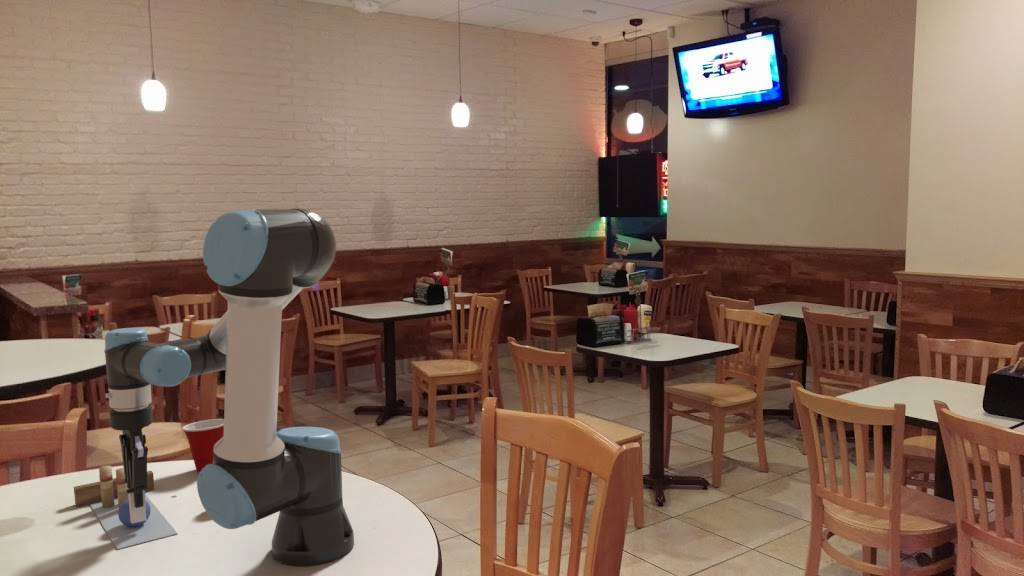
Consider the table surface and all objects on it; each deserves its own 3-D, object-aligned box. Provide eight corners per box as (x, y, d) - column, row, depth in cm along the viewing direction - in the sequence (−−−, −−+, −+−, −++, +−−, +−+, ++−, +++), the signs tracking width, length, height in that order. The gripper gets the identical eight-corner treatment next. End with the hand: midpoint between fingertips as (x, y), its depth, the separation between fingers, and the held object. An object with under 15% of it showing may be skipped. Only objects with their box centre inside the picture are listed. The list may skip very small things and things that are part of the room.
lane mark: (177, 534, 157) (177, 533, 156) (117, 549, 150) (117, 548, 150) (143, 493, 179) (143, 492, 179) (90, 505, 173) (90, 504, 173)
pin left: (115, 507, 172) (112, 467, 171) (103, 510, 170) (99, 470, 169) (113, 503, 173) (110, 464, 172) (101, 506, 172) (97, 467, 171)
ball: (151, 494, 160) (144, 492, 165) (119, 503, 157) (113, 500, 161) (156, 523, 160) (148, 520, 165) (124, 532, 156) (117, 529, 161)
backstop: (154, 489, 182) (153, 472, 181) (76, 506, 172) (75, 489, 172) (152, 487, 183) (151, 470, 183) (75, 504, 174) (73, 486, 173)
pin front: (132, 510, 170) (129, 469, 169) (120, 513, 168) (116, 472, 167) (130, 506, 172) (127, 467, 171) (117, 509, 170) (114, 469, 169)
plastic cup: (215, 459, 202) (212, 414, 201) (240, 467, 196) (237, 420, 195) (176, 471, 194) (172, 424, 192) (201, 480, 187) (198, 431, 186)
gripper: (102, 403, 157) (111, 515, 160) (117, 417, 147) (125, 536, 150) (143, 396, 162) (150, 506, 165) (159, 410, 152) (166, 526, 155)
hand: (138, 520), depth 157 cm, fingers closed
